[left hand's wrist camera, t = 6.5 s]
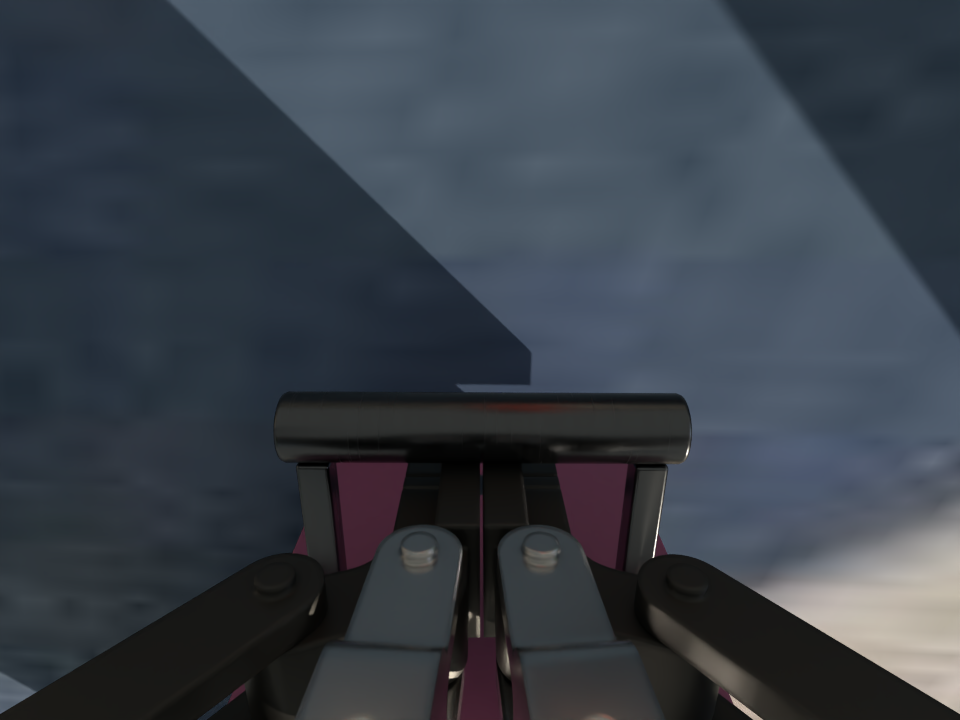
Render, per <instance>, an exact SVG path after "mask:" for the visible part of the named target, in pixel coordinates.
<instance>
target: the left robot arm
mask: <svg viewBox="0 0 960 720" xmlns="http://www.w3.org/2000/svg"><path fill="white" fill-rule="evenodd" d="M483 620H484V637H495V639H496V688H497V696H498V705H499V714H500V720H753V719H751V718H750V717H749V716H748V715H746V714H745V713H744V712H742V711H741V710H740V709H738V708H737V707H736V706H735V705H733V704H732V703H731V702H729V701H728V700H727V699H725V698H724V697H723V696H722V695H720V694H719V693H718V691H719V686H720V687H721V688H722V689H724V690H725V691H726V692H728V693H729V694H730V695H732V696H733V697H734V698H735V699H737V700H738V701H739V702H741V703H742V704H743V705H745V706H746V707H747V708H749V709H750V710H751V711H753V712H754V713H755V714H757V715H758V716H759V717H761V718H762V719H763V720H960V714H959V713H957V712H955V711H954V710H952V709H950V708H949V707H947V706H945V705H944V704H942V703H940V702H939V701H937V700H935V699H934V698H932V697H930V696H929V695H927V694H925V693H924V692H922V691H920V690H919V689H917V688H915V687H914V686H912V685H910V684H909V683H907V682H905V681H904V680H902V679H900V678H899V677H897V676H895V675H894V674H892V673H890V672H889V671H887V670H885V669H884V668H882V667H880V666H879V665H877V664H875V663H873V662H872V661H870V660H868V659H867V658H865V657H863V656H862V655H860V654H858V653H857V652H855V651H853V650H852V649H850V648H848V647H847V646H845V645H843V644H842V643H840V642H838V641H837V640H835V639H833V638H832V637H830V636H828V635H827V634H825V633H823V632H822V631H820V630H818V629H817V628H815V627H813V626H812V625H810V624H808V623H807V622H805V621H803V620H802V619H800V618H798V617H797V616H795V615H793V614H792V613H790V612H788V611H787V610H785V609H783V608H782V607H780V606H778V605H777V604H775V603H773V602H772V601H770V600H768V599H767V598H765V597H763V596H762V595H760V594H758V593H757V592H755V591H753V590H752V589H750V588H748V587H747V586H745V585H743V584H742V583H740V582H738V581H737V580H735V579H733V578H732V577H730V576H728V575H727V574H725V573H723V572H722V571H720V570H718V569H717V568H715V567H713V566H711V565H710V564H708V563H706V562H704V561H701V560H699V559H696V558H693V557H689V556H684V555H675V554H668V555H660V556H656V557H653V558H651V559H649V560H647V561H646V562H645V563H644V564H643V565H642V566H641V568H640V569H639V572H638V574H634V573H629V572H625V571H621V570H617V569H613V568H610V567H606V566H604V565H601V564H599V563H597V562H595V561H593V560H592V559H590V558H589V557H587V556H586V555H585V552H584V550H583V548H582V545H581V544H580V543H579V541H578V540H577V539H576V538H575V537H574V536H572V535H571V531H570V526H569V522H568V518H567V513H566V509H565V505H564V500H563V496H562V492H561V489H560V483H559V479H558V477H557V470H556V466H555V464H517V463H483ZM468 638H480V463H408V466H407V470H406V477H405V479H404V484H403V490H402V493H401V498H400V502H399V507H398V511H397V516H396V520H395V525H394V530H393V532H392V533H391V534H389V535H388V536H386V537H385V538H384V539H383V540H382V541H381V543H380V544H379V545H378V547H377V549H376V552H375V555H374V558H373V560H371V561H369V562H367V563H365V564H363V565H361V566H358V567H355V568H352V569H348V570H344V571H340V572H336V573H331V574H327V575H324V571H323V568H322V566H321V565H320V563H319V562H317V561H316V560H315V559H313V558H311V557H310V556H307V555H303V554H298V553H283V554H277V555H272V556H269V557H265V558H263V559H260V560H258V561H256V562H254V563H252V564H250V565H248V566H247V567H245V568H243V569H242V570H240V571H238V572H237V573H235V574H233V575H232V576H230V577H228V578H227V579H225V580H223V581H222V582H220V583H218V584H217V585H215V586H213V587H212V588H210V589H208V590H207V591H205V592H203V593H202V594H200V595H198V596H197V597H195V598H193V599H192V600H190V601H188V602H187V603H185V604H183V605H182V606H180V607H178V608H177V609H175V610H173V611H172V612H170V613H168V614H167V615H165V616H163V617H162V618H160V619H158V620H157V621H155V622H153V623H152V624H150V625H148V626H147V627H145V628H143V629H142V630H140V631H138V632H137V633H135V634H133V635H132V636H130V637H128V638H127V639H125V640H123V641H122V642H120V643H118V644H117V645H115V646H113V647H112V648H110V649H108V650H107V651H105V652H103V653H102V654H100V655H98V656H97V657H95V658H93V659H92V660H90V661H88V662H87V663H85V664H83V665H82V666H80V667H78V668H77V669H75V670H73V671H71V672H70V673H68V674H66V675H65V676H63V677H61V678H60V679H58V680H56V681H55V682H53V683H51V684H50V685H48V686H46V687H45V688H43V689H41V690H40V691H38V692H36V693H35V694H33V695H31V696H30V697H28V698H26V699H25V700H23V701H21V702H20V703H18V704H16V705H15V706H13V707H11V708H10V709H8V710H6V711H5V712H3V713H1V714H0V720H197V719H198V718H199V717H201V716H202V715H203V714H205V713H206V712H207V711H209V710H210V709H211V708H213V707H214V706H215V705H217V704H218V703H219V702H221V701H222V700H223V699H225V698H226V697H227V696H228V695H230V694H231V693H232V692H234V691H235V690H236V689H238V688H239V687H240V686H242V685H243V684H244V685H245V691H244V692H242V693H241V694H240V695H238V696H237V697H236V698H235V699H233V700H232V701H231V702H229V703H228V704H227V705H226V706H224V707H223V708H222V709H220V710H219V711H218V712H216V713H215V714H214V715H213V716H211V717H210V718H209V719H207V720H460V713H461V705H462V696H463V687H464V668H465V666H466V663H467V659H468Z"/></svg>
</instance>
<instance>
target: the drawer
mask: <svg viewBox="0 0 960 720" xmlns="http://www.w3.org/2000/svg"><path fill="white" fill-rule="evenodd" d="M273 431H274V444H275V449H276V453H277V455H278V457H279V459H280V460H281V461H284V462H286V463H298V464H297V466H296V471H297V478H298V486H299V493H300V501H301V508H302V516H303V523H304V527H303V529H302V532H301V534H300V536H299V539H298V541H297V543H296V546H295V548H294V550H293V553H298V554H303V555H307V556H310V557H311V558H313V559H315V560H316V561H317V562H319V563H320V565H321V566H322V568H323V571H324V575H327V574H331V573H336V572H340V571H344V570H348V569H352V568H355V567H358V566H361V565H363V564H365V563H367V562H369V561H371V560H373V558H374V555H375V552H376V549H377V547H378V545H379V544H380V543H381V541H382V540H383V539H384V538H385V537H386V536H388V535H389V534H391V533H392V532H393V530H394V525H395V520H396V516H397V511H398V507H399V502H400V498H401V493H402V490H403V484H404V479H405V477H406V470H407V466H408V463H480V638H468V659H467V663H466V666H465V668H464V687H463V696H462V705H461V713H460V720H500V714H499V705H498V696H497V688H496V639H495V637H484V620H483V463H517V464H555V466H556V470H557V477H558V479H559V483H560V489H561V492H562V496H563V500H564V505H565V509H566V513H567V518H568V522H569V526H570V531H571V535H572V536H574V537H575V538H576V539H577V540H578V541H579V543H580V544H581V545H582V548H583V550H584V552H585V555H586V556H587V557H589V558H590V559H592V560H593V561H595V562H597V563H599V564H601V565H604V566H606V567H610V568H613V569H617V570H621V571H625V572H629V573H634V574H638V572H639V569H640V568H641V566H642V565H643V564H644V563H645V562H646V561H647V560H649V559H651V558H653V557H656V556H660V555H668V554H667V552H666V550H665V548H664V545H663V543H662V541H661V538H660V536H659V534H658V532H659V526H660V519H661V513H662V506H663V499H664V493H665V486H666V480H667V473H668V467H667V465H666V464H680V463H682V462H684V461H685V460H686V459H687V457H688V454H689V451H690V447H691V440H692V424H691V417H690V412H689V408H688V405H687V403H686V401H685V399H684V398H683V397H682V396H681V395H679V394H676V393H489V392H287V393H284V394H283V395H282V396H281V398H280V400H279V402H278V405H277V408H276V412H275V417H274V430H273ZM244 691H245V685H244V684H243V685H242V686H240V687H239V688H238V689H236V690H235V691H234V692H233V693H232V695H231V697H230V700H229V702H231V701H232V700H233V699H235V698H236V697H237V696H238V695H240V694H241V693H242V692H244ZM718 693H719V694H720V695H722V696H723V697H724V698H725V699H727V700H728V701H729V702H731V703H732V704H733V702H732V700H731V698H730V695H729V693H728V692H726V691H725V690H724V689H722V688H721V687H720V686H719V691H718ZM229 702H228V703H229ZM733 705H734V704H733Z"/></svg>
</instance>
